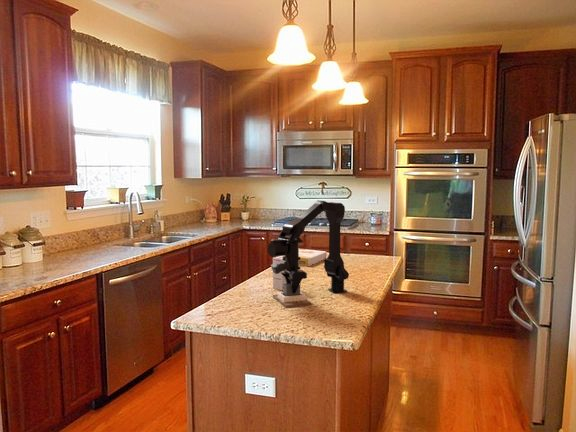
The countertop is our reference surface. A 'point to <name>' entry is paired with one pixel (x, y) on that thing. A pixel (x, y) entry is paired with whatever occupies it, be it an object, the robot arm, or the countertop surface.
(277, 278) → the syrup box
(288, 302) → the socket board
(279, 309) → the countertop surface
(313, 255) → the cereal box
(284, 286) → the plug block
